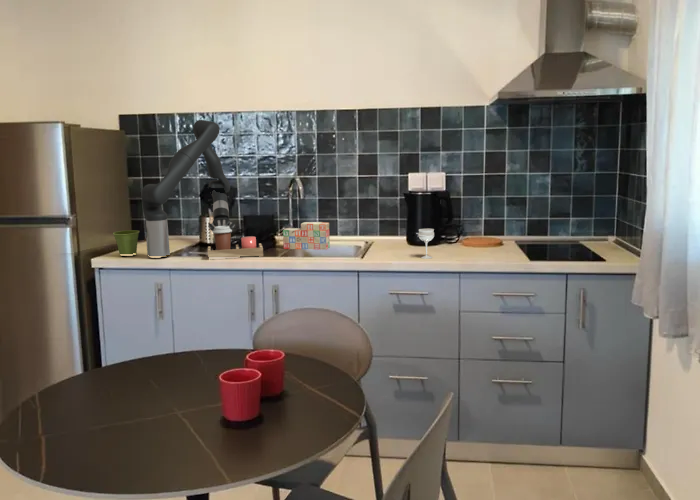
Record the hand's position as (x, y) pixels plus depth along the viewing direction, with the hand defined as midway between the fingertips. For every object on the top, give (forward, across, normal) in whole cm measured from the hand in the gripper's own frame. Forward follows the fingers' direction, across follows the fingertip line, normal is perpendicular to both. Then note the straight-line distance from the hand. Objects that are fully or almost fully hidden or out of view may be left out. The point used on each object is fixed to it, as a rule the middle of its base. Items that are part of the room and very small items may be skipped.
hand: (222, 239), depth 314 cm
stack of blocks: (+11, +39, -3) cm, 40 cm away
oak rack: (+17, +5, -10) cm, 20 cm away
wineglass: (+41, +84, -34) cm, 100 cm away
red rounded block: (+16, +12, -9) cm, 22 cm away
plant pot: (+4, -43, +3) cm, 44 cm away
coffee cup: (+8, 0, -1) cm, 8 cm away
